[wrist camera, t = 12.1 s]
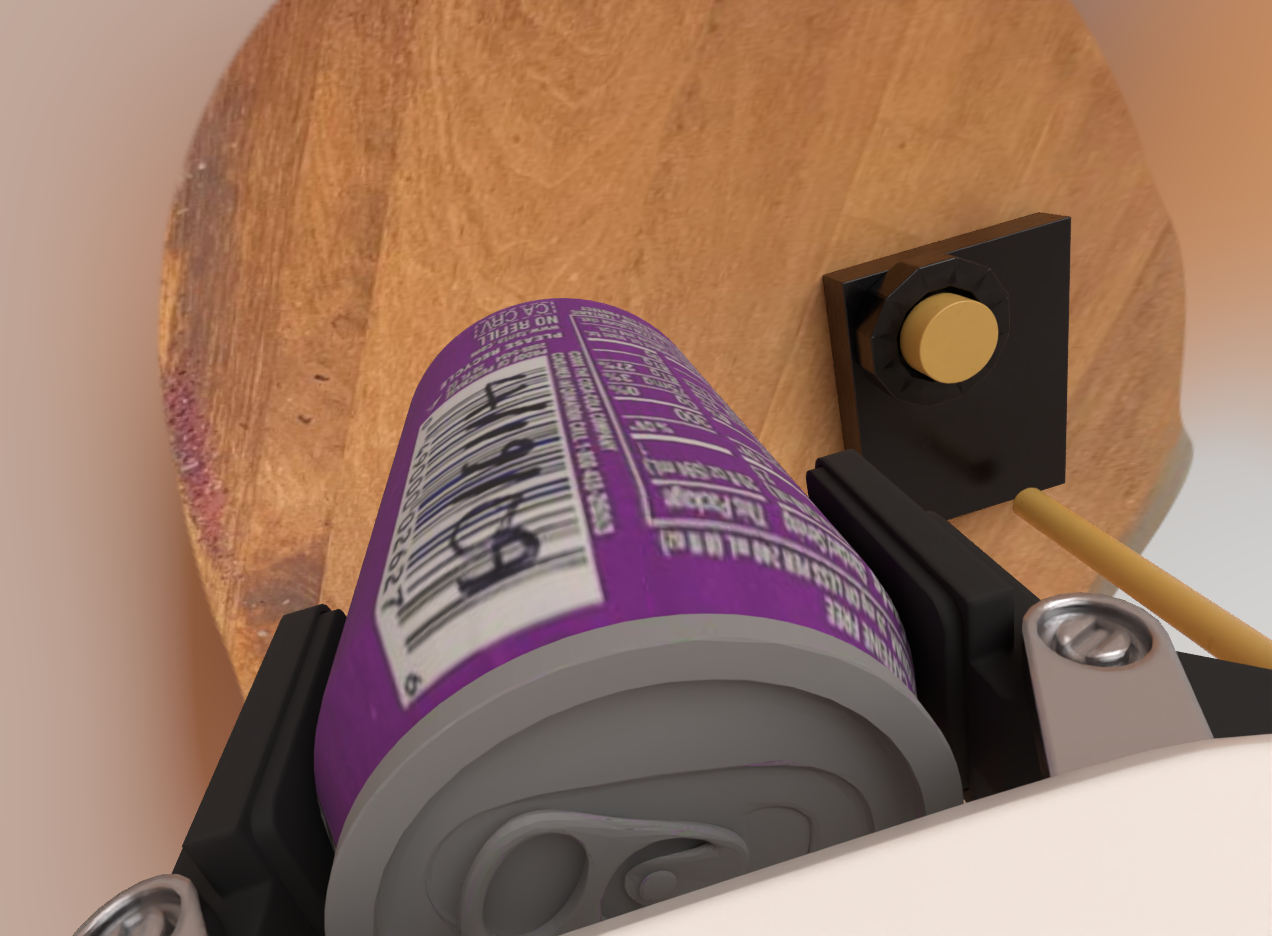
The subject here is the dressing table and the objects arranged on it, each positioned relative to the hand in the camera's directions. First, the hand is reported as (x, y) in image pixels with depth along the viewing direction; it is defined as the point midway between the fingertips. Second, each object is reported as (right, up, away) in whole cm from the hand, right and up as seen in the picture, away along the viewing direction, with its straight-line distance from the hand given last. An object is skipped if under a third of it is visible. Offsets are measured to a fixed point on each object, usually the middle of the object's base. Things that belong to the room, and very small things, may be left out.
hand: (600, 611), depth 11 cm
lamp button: (+14, +8, +21) cm, 27 cm away
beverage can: (-1, +3, +7) cm, 7 cm away
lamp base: (+16, +7, +27) cm, 32 cm away
